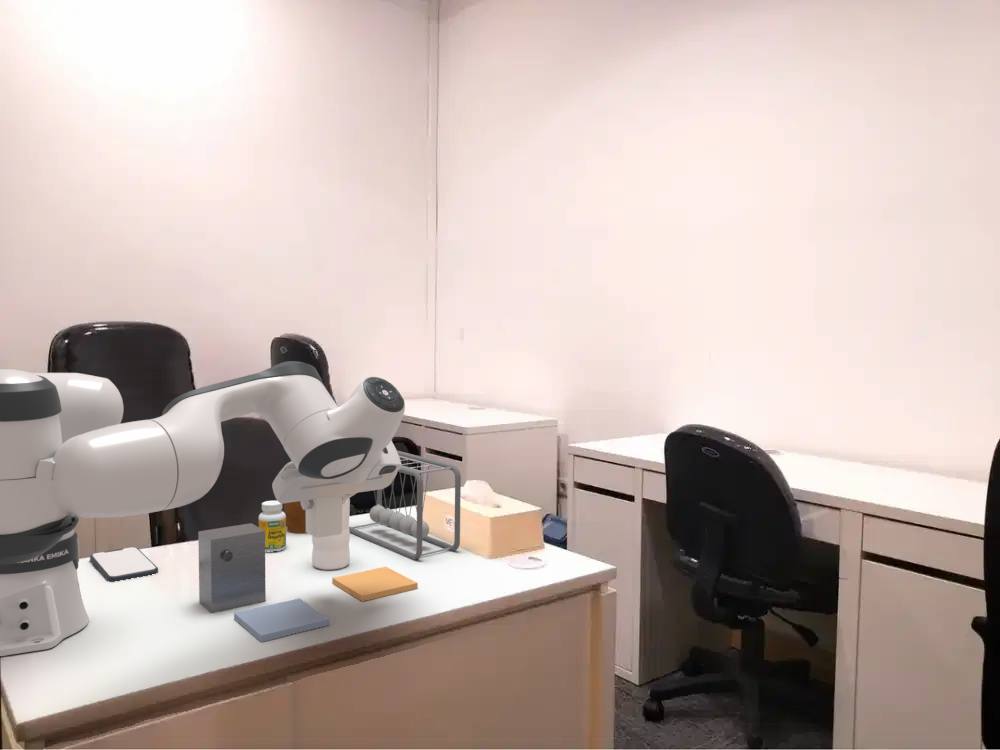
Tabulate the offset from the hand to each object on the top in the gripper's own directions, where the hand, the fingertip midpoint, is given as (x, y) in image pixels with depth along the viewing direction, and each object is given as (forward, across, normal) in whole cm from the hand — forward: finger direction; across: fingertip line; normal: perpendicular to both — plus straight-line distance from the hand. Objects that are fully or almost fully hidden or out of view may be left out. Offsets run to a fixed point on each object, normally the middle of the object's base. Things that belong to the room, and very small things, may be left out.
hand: (322, 503), depth 138 cm
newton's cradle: (+27, +28, +3) cm, 39 cm away
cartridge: (+3, 0, -4) cm, 5 cm away
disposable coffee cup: (+40, +15, +17) cm, 46 cm away
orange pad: (+11, +10, -12) cm, 19 cm away
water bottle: (+22, +9, -1) cm, 24 cm away
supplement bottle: (+33, +4, +10) cm, 35 cm away
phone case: (+37, -23, +13) cm, 46 cm away
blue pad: (+7, -10, -16) cm, 20 cm away
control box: (+16, -13, -7) cm, 22 cm away
